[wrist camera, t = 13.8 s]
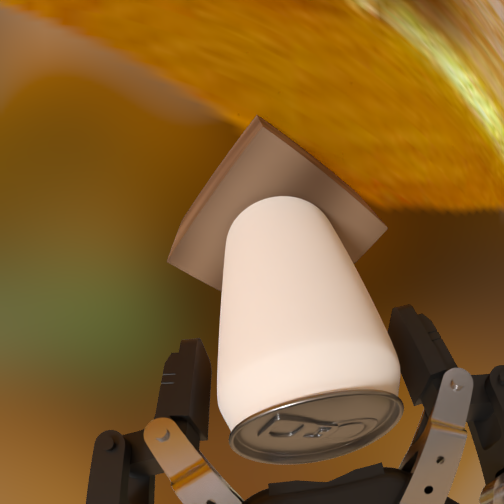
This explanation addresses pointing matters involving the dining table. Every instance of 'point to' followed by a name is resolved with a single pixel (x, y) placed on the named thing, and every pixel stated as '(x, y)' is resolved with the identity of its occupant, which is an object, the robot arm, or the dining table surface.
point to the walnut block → (261, 187)
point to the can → (300, 341)
